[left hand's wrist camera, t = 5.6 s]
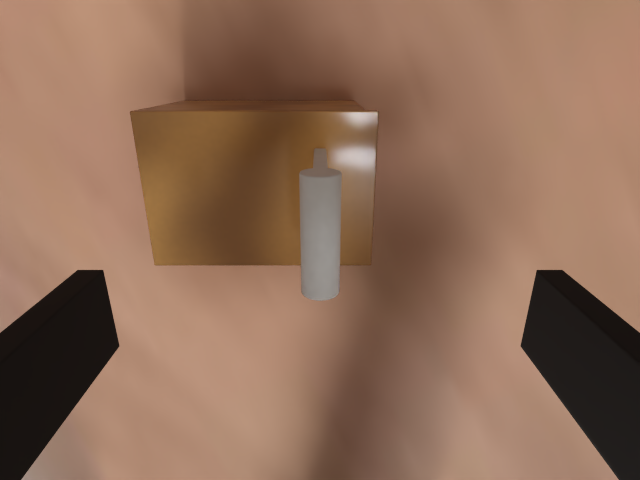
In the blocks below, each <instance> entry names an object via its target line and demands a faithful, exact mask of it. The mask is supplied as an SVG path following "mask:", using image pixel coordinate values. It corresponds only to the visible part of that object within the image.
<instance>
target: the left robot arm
mask: <svg viewBox="0 0 640 480" xmlns="http://www.w3.org/2000/svg"><path fill="white" fill-rule="evenodd" d="M118 347H119V342H118V338H117V333H116V328H115V323H114V319H113V314H112V309H111V305H110V300H109V295H108V291H107V286H106V281H105V277H104V272H103V270H77V271H76V272H75V273H74V274H72V275H71V276H70V277H69V278H67V279H66V280H65V281H64V282H62V283H61V284H60V285H59V286H58V287H56V288H55V289H54V290H53V291H51V292H50V293H49V294H48V295H46V296H45V297H44V298H43V299H42V300H40V301H39V302H38V303H37V304H35V305H34V306H33V307H32V308H30V309H29V310H28V311H27V312H26V313H24V314H23V315H22V316H21V317H19V318H18V319H17V320H16V321H14V322H13V323H12V324H11V325H10V326H8V327H7V328H6V329H5V330H3V331H2V332H1V333H0V480H21V479H22V478H23V476H24V475H25V474H26V472H27V471H28V470H29V468H30V467H31V465H32V464H33V463H34V461H35V460H36V459H37V457H38V456H39V455H40V453H41V452H42V451H43V449H44V448H45V446H46V445H47V444H48V442H49V441H50V440H51V438H52V437H53V436H54V434H55V433H56V431H57V430H58V429H59V427H60V426H61V425H62V423H63V422H64V421H65V419H66V418H67V417H68V415H69V414H70V412H71V411H72V410H73V408H74V407H75V406H76V404H77V403H78V402H79V400H80V399H81V398H82V396H83V395H84V393H85V392H86V391H87V389H88V388H89V387H90V385H91V384H92V383H93V381H94V380H95V379H96V377H97V376H98V374H99V373H100V372H101V370H102V369H103V368H104V366H105V365H106V364H107V362H108V361H109V359H110V358H111V357H112V355H113V354H114V353H115V351H116V350H117V349H118ZM521 347H522V349H523V350H524V351H525V353H526V354H527V355H528V357H529V358H530V359H531V361H532V362H533V364H534V365H535V366H536V368H537V369H538V370H539V372H540V373H541V374H542V376H543V377H544V379H545V380H546V381H547V383H548V384H549V385H550V387H551V388H552V389H553V391H554V392H555V393H556V395H557V396H558V398H559V399H560V400H561V402H562V403H563V404H564V406H565V407H566V408H567V410H568V411H569V412H570V414H571V415H572V417H573V418H574V419H575V421H576V422H577V423H578V425H579V426H580V427H581V429H582V430H583V431H584V433H585V434H586V436H587V437H588V438H589V440H590V441H591V442H592V444H593V445H594V446H595V448H596V449H597V451H598V452H599V453H600V455H601V456H602V457H603V459H604V460H605V461H606V463H607V464H608V465H609V467H610V468H611V470H612V471H613V472H614V474H615V475H616V476H617V478H618V479H619V480H640V333H639V332H638V331H637V330H635V329H634V328H633V327H632V326H630V325H629V324H628V323H627V322H626V321H624V320H623V319H622V318H621V317H619V316H618V315H617V314H616V313H614V312H613V311H612V310H611V309H610V308H608V307H607V306H606V305H605V304H603V303H602V302H601V301H600V300H598V299H597V298H596V297H595V296H594V295H592V294H591V293H590V292H589V291H587V290H586V289H585V288H584V287H582V286H581V285H580V284H579V283H578V282H576V281H575V280H574V279H573V278H571V277H570V276H569V275H568V274H566V273H565V272H564V271H563V270H537V272H536V277H535V281H534V286H533V291H532V295H531V300H530V305H529V309H528V314H527V319H526V323H525V328H524V333H523V338H522V342H521Z"/></svg>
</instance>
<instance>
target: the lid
mask: <svg viewBox="0 0 640 480" xmlns="http://www.w3.org/2000/svg"><path fill="white" fill-rule="evenodd" d="M130 115H131V121H132V128H133V134H134V140H135V146H136V152H137V158H138V165H139V171H140V177H141V183H142V189H143V196H144V202H145V208H146V214H147V220H148V226H149V233H150V239H151V245H152V251H153V257H154V264H155V265H301V291H302V294H303V295H304V296H305V297H307V298H309V299H312V300H319V301H321V300H329V299H332V298H334V297H336V296H337V295H338V294H339V287H340V265H371V257H372V237H373V217H374V197H375V177H376V157H377V137H378V116H379V112H378V111H377V110H135V111H130Z"/></svg>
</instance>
